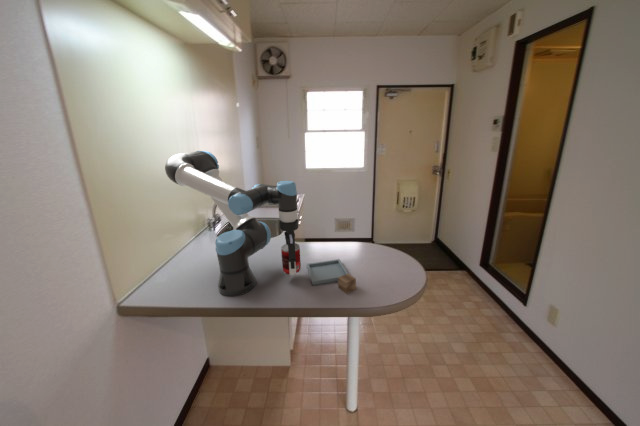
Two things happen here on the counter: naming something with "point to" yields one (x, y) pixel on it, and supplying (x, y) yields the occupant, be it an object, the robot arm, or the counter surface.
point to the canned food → (286, 257)
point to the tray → (325, 271)
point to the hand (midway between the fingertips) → (291, 269)
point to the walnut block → (347, 283)
